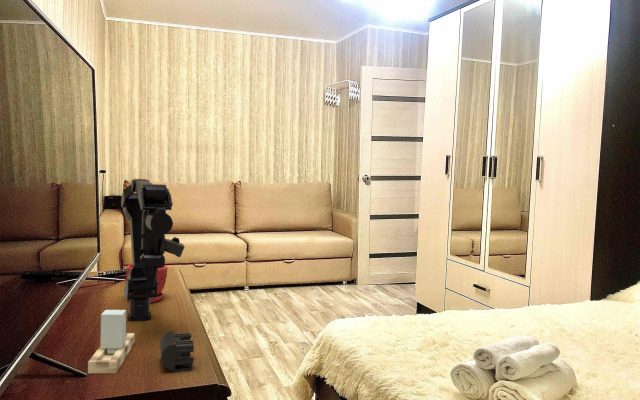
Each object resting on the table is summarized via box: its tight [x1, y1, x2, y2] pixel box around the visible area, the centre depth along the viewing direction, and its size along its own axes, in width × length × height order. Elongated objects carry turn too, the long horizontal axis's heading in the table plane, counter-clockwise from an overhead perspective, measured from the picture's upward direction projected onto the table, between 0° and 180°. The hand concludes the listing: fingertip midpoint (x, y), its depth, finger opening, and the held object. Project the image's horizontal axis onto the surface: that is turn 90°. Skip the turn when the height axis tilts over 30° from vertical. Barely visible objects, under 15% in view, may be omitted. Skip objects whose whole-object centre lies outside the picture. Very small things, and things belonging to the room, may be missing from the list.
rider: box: [100, 309, 127, 354], centre depth 127 cm, size 4×5×10 cm
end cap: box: [159, 329, 195, 373], centre depth 125 cm, size 10×7×7 cm
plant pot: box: [125, 263, 168, 303], centre depth 180 cm, size 13×13×12 cm
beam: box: [87, 332, 136, 374], centre depth 127 cm, size 20×6×3 cm, turn 8°
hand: (151, 286), depth 146 cm, fingers closed
